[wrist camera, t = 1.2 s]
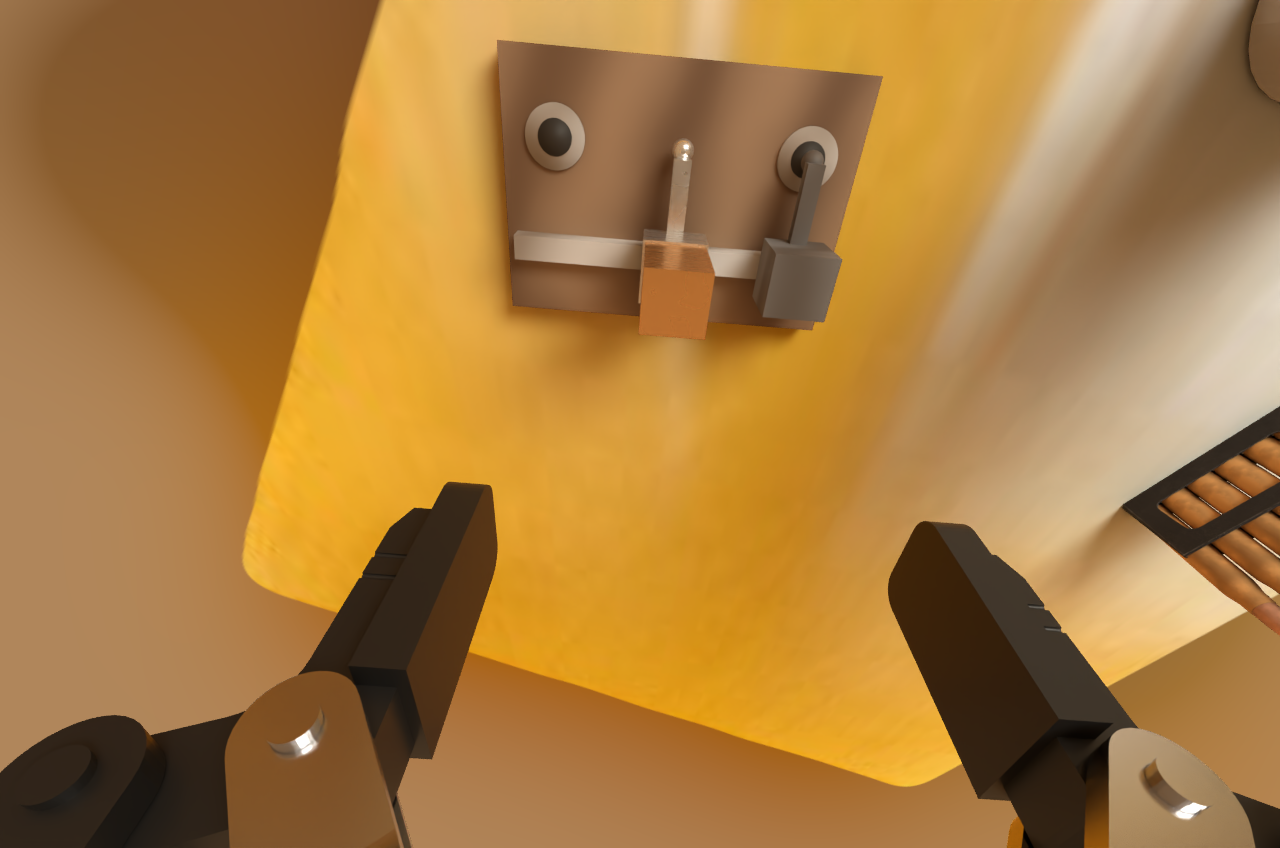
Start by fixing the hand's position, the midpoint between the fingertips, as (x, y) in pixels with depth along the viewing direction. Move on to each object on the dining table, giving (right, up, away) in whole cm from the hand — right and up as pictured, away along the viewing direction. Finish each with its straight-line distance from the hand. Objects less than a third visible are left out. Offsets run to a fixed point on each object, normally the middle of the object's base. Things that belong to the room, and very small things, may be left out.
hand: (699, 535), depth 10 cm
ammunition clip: (+38, -1, +26) cm, 46 cm away
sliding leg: (+1, +12, +16) cm, 20 cm away
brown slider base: (+1, +14, +17) cm, 22 cm away
